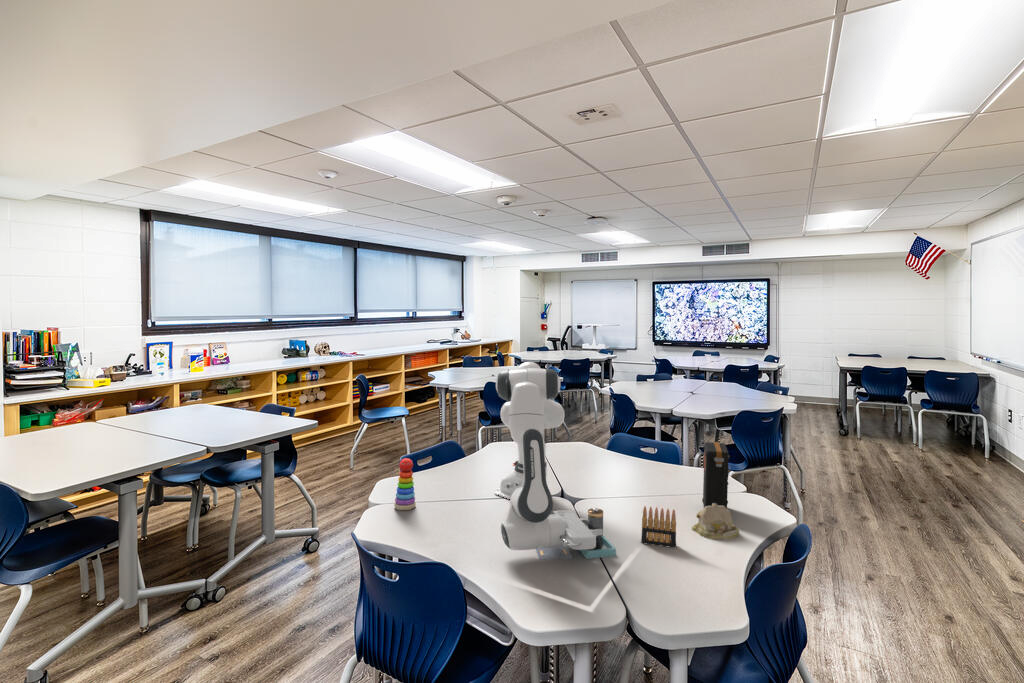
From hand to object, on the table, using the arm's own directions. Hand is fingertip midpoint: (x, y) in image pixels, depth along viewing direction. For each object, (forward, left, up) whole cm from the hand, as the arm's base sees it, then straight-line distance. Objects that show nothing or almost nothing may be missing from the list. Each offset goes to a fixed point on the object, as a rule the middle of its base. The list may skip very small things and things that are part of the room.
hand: (598, 526), depth 149 cm
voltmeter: (+25, +54, -8) cm, 60 cm away
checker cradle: (-11, -9, -8) cm, 16 cm away
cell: (-1, -1, -6) cm, 6 cm away
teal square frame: (-1, -1, -8) cm, 8 cm away
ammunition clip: (+14, +16, -8) cm, 23 cm away
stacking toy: (-76, -5, -8) cm, 76 cm away
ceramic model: (+28, +35, -8) cm, 46 cm away
